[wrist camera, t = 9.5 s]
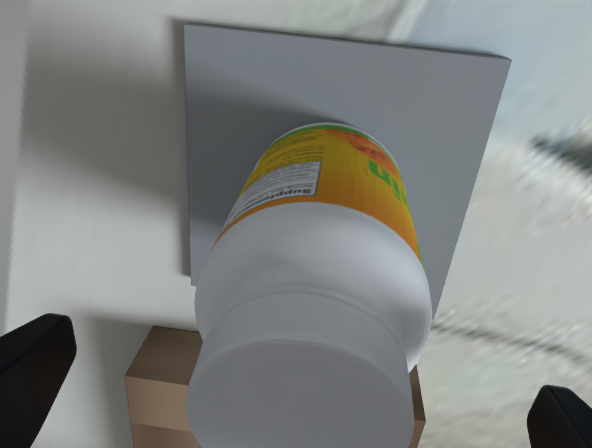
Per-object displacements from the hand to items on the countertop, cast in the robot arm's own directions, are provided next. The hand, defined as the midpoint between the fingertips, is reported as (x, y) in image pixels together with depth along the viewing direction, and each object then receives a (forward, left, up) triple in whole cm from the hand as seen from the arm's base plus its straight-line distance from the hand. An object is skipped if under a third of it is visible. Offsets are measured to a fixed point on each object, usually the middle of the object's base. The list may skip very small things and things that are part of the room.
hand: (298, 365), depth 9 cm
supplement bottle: (0, 0, -9) cm, 9 cm away
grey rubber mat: (0, 0, -9) cm, 9 cm away
